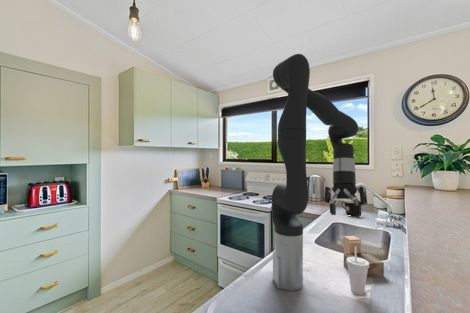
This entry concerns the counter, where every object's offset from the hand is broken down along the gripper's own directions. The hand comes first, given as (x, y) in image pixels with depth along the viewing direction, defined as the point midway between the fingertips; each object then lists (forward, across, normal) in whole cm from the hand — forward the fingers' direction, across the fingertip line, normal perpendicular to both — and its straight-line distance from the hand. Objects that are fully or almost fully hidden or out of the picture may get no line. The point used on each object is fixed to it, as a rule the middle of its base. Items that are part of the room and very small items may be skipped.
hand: (345, 216), depth 80 cm
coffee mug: (+1, -39, +89) cm, 97 cm away
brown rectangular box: (+20, 0, +12) cm, 23 cm away
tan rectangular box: (+18, -5, +15) cm, 24 cm away
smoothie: (+23, +4, -2) cm, 24 cm away
